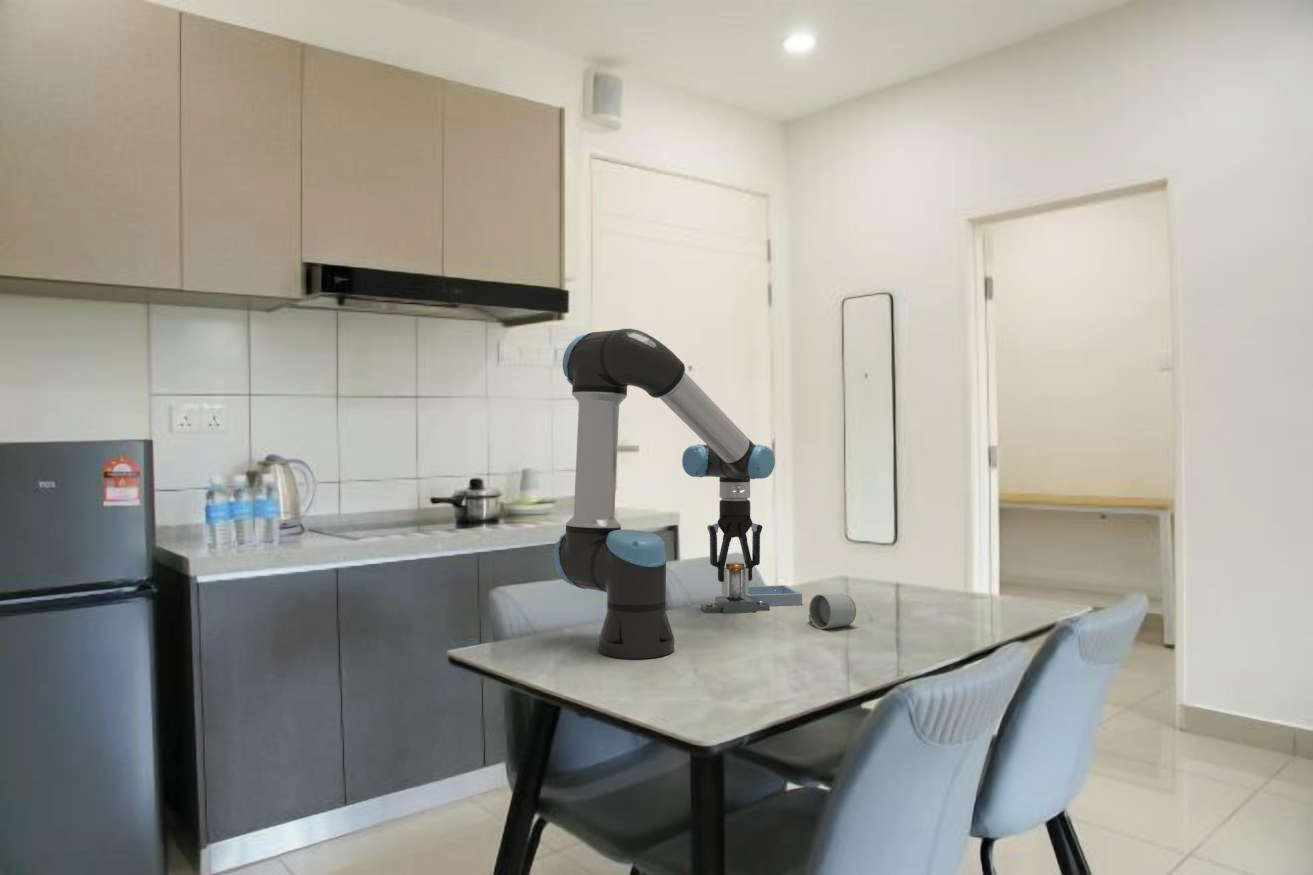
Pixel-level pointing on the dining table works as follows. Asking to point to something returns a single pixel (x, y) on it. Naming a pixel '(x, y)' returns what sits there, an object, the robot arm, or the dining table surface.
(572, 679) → the dining table surface
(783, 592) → the tray
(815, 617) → the ceramic mug
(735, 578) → the pin
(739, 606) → the grey holder base
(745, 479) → the robot arm
